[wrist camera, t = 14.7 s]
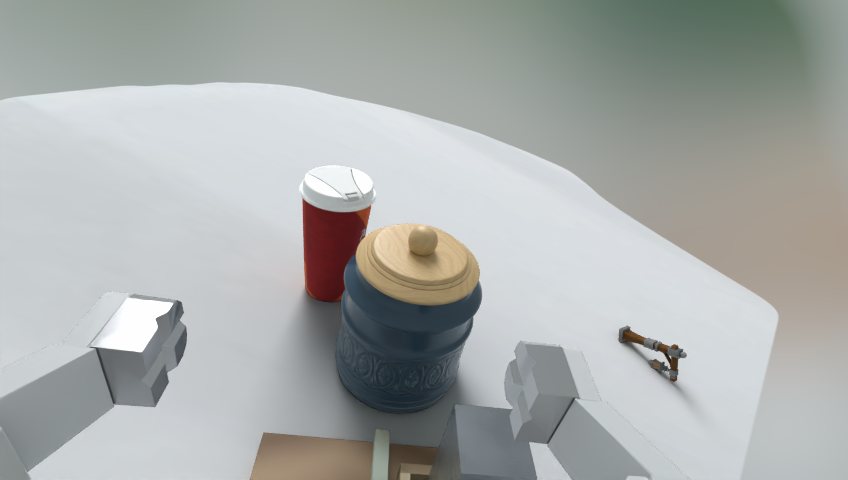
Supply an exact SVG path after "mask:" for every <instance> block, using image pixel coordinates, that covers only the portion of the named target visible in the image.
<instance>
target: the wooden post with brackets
mask: <svg viewBox="0 0 848 480" xmlns="http://www.w3.org/2000/svg"><path fill="white" fill-rule="evenodd" d="M624 341H630V342H634V343H638V344H641V345H644V347H646V348H649V349H651V350H655V351H656V352H657V351H661V352H663V353H664V355H665V356H666V358H667V360H668V362H669V363H670V367H671V369H669V368H668V366H664V363H665V362H662V363H661V362H659V361H657V360H656V359H654V360H649V361H648V363H649V364H650V365H651V367H652V368H654V369H657V370H658V372H660V371H662V370H664V372H665V371H667V370H668V371H669V370H670V371H669V375H670V380H671V381H673V382H675V381H677V375H678V369H677V368H678V359H679V358H685V357H686V356H687V355H686V353H685V352H683V349H680V348H678V346H677V345H675V344H674V345H672V346H671V347H670V346H667V345H664V344H662V342H660V341H659V342H657V341H656V340H652V339H650V338H644V337H642V336H640V335H638V334H636V333H634V332H632V331H631V330H630V327H629V326H626V327H623V328H621V329H619V342H621V343H622V342H624ZM669 356H671V359H670V357H669Z"/></svg>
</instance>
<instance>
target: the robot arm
mask: <svg viewBox="0 0 848 480" xmlns="http://www.w3.org/2000/svg"><path fill="white" fill-rule="evenodd" d="M183 313H184V312H183V307H182V302H180V301H178V300H171V299H164V298H157V297H150V296H143V295H136V294H126V293H119V292H112V291H109V292H108V293H106V294H104V295H102V296H101V297H100V299H99V300H98V301H97V302H96V303H95V304H94V306H93V307H92V308H91V309H90V310H89V312H88V313H87V314H86V315H85V316H84V317H83V319H82V320H81V321H80V322H79V323H78V324H77V326H76V327H75V328H74V329H73V330H72V331H71V333H70V334H69V335H68V336H67V337H66V338H65V340H64V341H63V342H62V343H61V344H52V345H49V346H47V347H45V348H43V349H41V350H39V351H37V352H35V353H33V354H31V355H29V356H27V357H25V358H23V359H21V360H18V361H16V362H14V363H12V364H10V365H8V366H6V367H4V368H2V369H0V480H32V479H31V477H30V475H29V474H28V471H29V470H31V469H32V468H33V467H35V466H36V465H37V464H39V463H40V462H41V461H43V460H44V459H45V458H47V457H48V456H49V455H51V454H52V453H53V452H55V451H56V450H57V449H59V448H60V447H61V446H63V445H64V444H65V443H67V442H68V441H69V440H71V439H72V438H73V437H75V436H76V435H77V434H79V433H80V432H81V431H82V430H84V429H85V428H86V427H88V426H89V425H90V424H92V423H93V422H94V421H96V420H97V419H98V418H100V417H101V416H102V415H104V414H105V413H106V412H108V411H109V410H110V409H112V408H113V407H114V404H115V405H130V406H145V407H156V405H157V403H158V401H159V399H160V397H161V396H162V394H163V392H164V390H165V388H166V386H167V385H168V383H169V381H168V375H167V372H169V371H171V370H172V369H174V368H175V367H177V366H178V364H179V362H180V360H181V358H182V356H183V353H184V350H185V346H186V341H187V331H186V326H185V325H184V324H183V323H182V322H181V321H180V318H181V317H182V315H183ZM515 356H516V359H515V360H513V361H511V362H510V363H509V365H508V367H507V370H506V374H505V382H504V385H505V395H506V400H507V401H508V402H509V403H510V405H511V406H512V407H513V409H512V411H511V413H510V421H511V426H512V431H513V436H514V440H517V441H526V442H534V443H542V444H548V445H547V446H548V448H549V449H550V450H551V452H552V453H553V454H554V456H555V457H556V459H557V460H558V461H559V463H560V464H561V465H562V467H563V468H564V469H565V471H566V472H567V473H568V475H569V476H570V478H571V479H572V480H691V479H690V478H689V477H688V476H687V475H686V474H684V473H683V472H682V471H681V470H680V469H679V468H678V467H677V466H676V465H675V464H674V463H673V462H672V461H671V460H669V459H668V458H667V457H666V456H665V455H664V454H663V453H662V452H661V451H660V450H659V449H658V448H657V447H656V446H654V445H653V444H652V443H651V442H650V441H649V440H648V439H647V438H646V437H645V436H644V435H643V434H642V433H641V432H639V431H638V430H637V429H636V428H635V427H634V426H633V425H632V424H631V423H630V422H629V421H628V420H627V419H625V418H624V417H623V416H622V415H621V414H620V413H619V412H618V411H617V410H616V409H615V408H614V407H613V406H612V405H610V404H609V403H608V402H604V401H602V400H601V397H600V395H599V392H598V390H597V387H596V385H595V382H594V380H593V378H592V375H591V373H590V370H589V368H588V365H587V363H586V360H585V358H584V355H583V353H582V351H581V349H580V348H579V347H573V346H564V345H555V344H546V343H536V342H527V341H520V342H519V343H518V344H517V346H516V349H515Z"/></svg>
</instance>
